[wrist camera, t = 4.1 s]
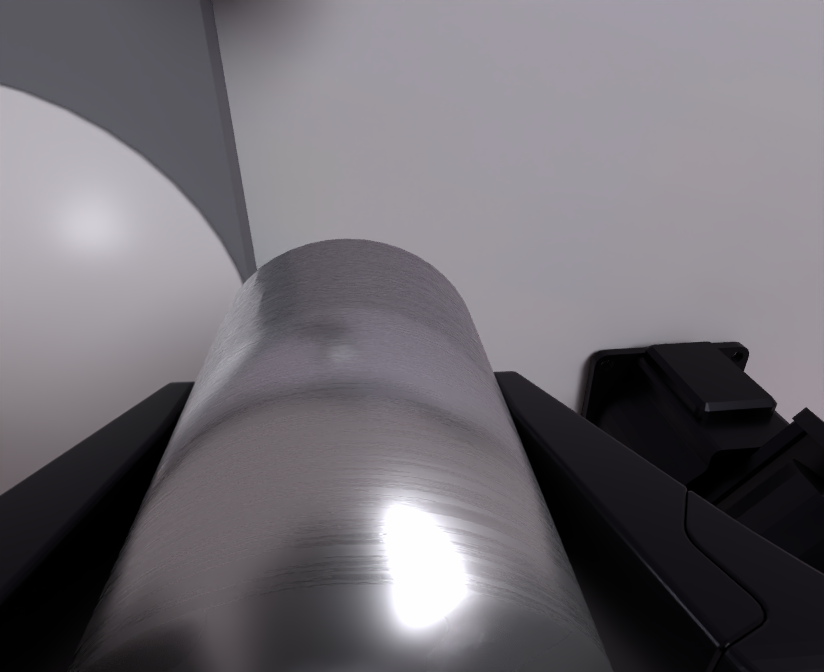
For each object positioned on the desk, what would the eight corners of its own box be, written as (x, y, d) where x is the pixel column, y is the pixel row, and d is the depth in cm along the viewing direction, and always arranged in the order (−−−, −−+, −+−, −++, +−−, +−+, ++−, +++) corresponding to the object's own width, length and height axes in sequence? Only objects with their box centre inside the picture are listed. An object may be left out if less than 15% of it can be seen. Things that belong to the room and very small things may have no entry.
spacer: (466, 451, 11) (571, 849, 6) (237, 461, 10) (122, 900, 5) (487, 237, 9) (690, 562, 3) (198, 239, 8) (-70, 612, 3)
